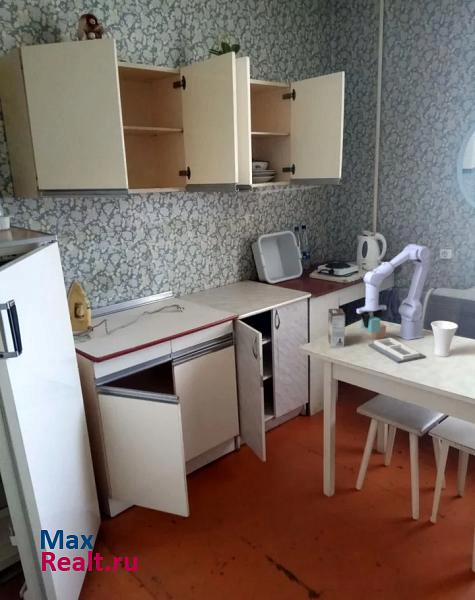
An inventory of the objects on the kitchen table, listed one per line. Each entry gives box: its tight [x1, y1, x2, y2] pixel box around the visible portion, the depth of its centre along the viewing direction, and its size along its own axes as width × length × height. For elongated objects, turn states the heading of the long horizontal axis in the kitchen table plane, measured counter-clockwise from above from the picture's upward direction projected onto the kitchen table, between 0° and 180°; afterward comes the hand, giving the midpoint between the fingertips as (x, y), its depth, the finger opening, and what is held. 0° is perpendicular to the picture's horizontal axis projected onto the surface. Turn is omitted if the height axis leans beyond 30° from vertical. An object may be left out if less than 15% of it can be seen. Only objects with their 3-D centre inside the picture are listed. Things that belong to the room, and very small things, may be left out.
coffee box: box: [327, 308, 346, 348], centre depth 215 cm, size 9×6×16 cm
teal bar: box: [361, 313, 381, 333], centre depth 214 cm, size 4×8×6 cm, turn 18°
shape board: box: [368, 337, 427, 364], centre depth 205 cm, size 14×21×2 cm, turn 19°
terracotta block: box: [369, 322, 387, 340], centre depth 223 cm, size 5×5×6 cm
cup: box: [430, 320, 459, 358], centre depth 199 cm, size 10×10×14 cm
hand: (370, 326), depth 214 cm, fingers closed on teal bar, 4 cm apart
